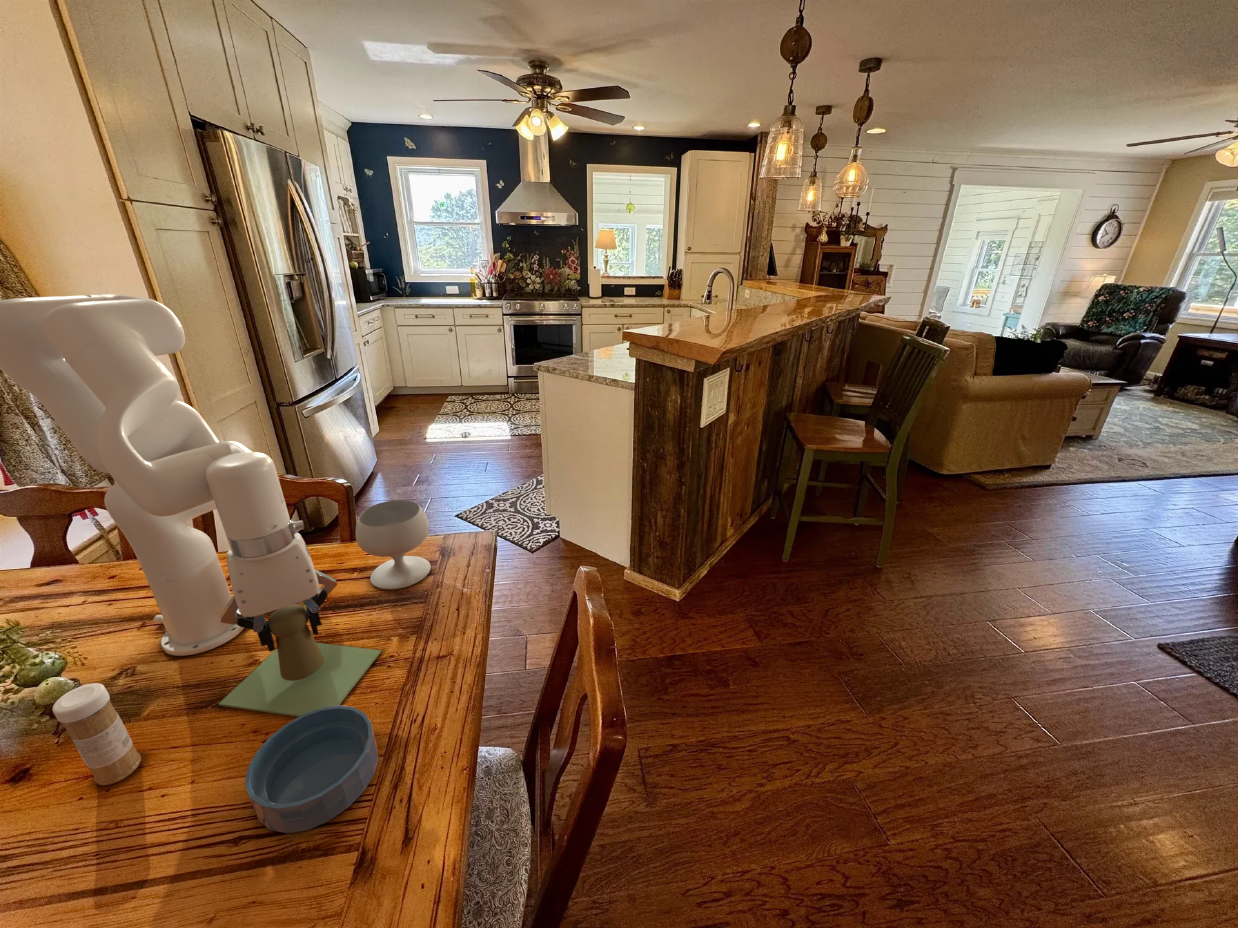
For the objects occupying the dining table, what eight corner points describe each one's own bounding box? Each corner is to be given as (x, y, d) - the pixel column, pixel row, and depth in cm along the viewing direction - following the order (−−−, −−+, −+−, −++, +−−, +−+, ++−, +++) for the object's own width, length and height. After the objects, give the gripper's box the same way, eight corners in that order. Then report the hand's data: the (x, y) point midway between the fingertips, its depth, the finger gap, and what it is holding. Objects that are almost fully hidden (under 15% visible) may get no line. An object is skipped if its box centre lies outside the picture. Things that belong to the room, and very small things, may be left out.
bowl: (227, 825, 60) (215, 797, 58) (309, 724, 72) (301, 699, 70) (334, 843, 58) (324, 816, 56) (398, 737, 71) (393, 712, 69)
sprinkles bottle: (110, 758, 67) (69, 685, 62) (150, 751, 68) (112, 678, 63) (86, 791, 63) (40, 715, 58) (129, 782, 64) (87, 707, 59)
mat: (218, 705, 75) (218, 703, 75) (287, 640, 88) (287, 638, 88) (326, 720, 73) (326, 718, 73) (381, 651, 86) (381, 650, 86)
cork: (304, 683, 76) (286, 627, 72) (271, 677, 77) (251, 621, 73) (332, 655, 82) (317, 601, 77) (301, 649, 83) (284, 596, 78)
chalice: (373, 559, 112) (360, 500, 106) (438, 552, 115) (429, 494, 109) (358, 597, 99) (343, 533, 93) (431, 588, 102) (421, 525, 96)
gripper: (325, 511, 78) (349, 604, 85) (186, 545, 68) (225, 647, 75) (334, 530, 72) (358, 628, 79) (184, 571, 63) (226, 678, 70)
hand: (293, 636), depth 77 cm, fingers closed on cork, 5 cm apart
